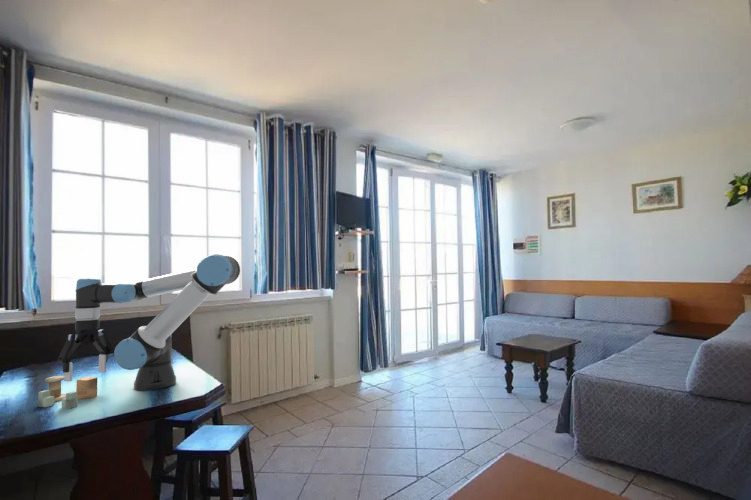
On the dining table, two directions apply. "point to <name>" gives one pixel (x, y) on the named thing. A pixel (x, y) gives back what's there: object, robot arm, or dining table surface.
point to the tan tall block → (86, 387)
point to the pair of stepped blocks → (48, 400)
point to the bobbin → (55, 387)
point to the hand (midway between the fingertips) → (85, 376)
